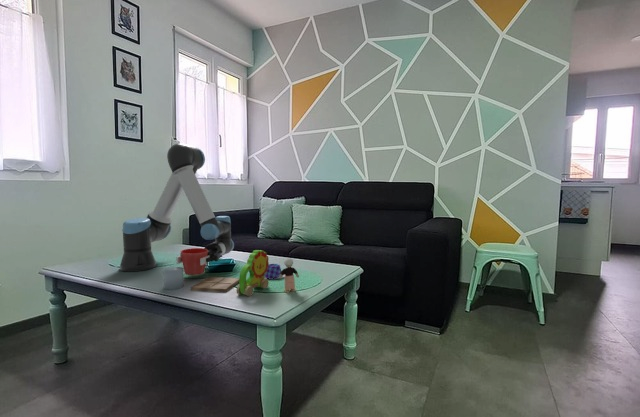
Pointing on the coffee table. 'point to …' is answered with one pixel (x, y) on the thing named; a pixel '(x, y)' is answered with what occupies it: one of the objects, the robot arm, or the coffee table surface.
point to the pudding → (273, 271)
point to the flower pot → (193, 260)
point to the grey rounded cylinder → (173, 278)
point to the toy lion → (253, 273)
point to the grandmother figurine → (289, 275)
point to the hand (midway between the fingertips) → (189, 261)
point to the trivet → (215, 284)
